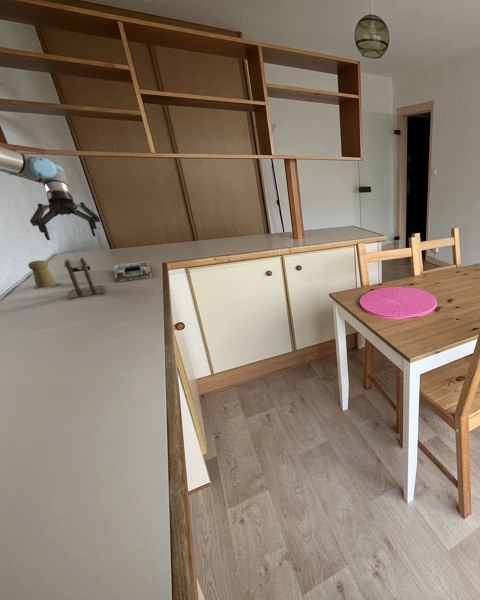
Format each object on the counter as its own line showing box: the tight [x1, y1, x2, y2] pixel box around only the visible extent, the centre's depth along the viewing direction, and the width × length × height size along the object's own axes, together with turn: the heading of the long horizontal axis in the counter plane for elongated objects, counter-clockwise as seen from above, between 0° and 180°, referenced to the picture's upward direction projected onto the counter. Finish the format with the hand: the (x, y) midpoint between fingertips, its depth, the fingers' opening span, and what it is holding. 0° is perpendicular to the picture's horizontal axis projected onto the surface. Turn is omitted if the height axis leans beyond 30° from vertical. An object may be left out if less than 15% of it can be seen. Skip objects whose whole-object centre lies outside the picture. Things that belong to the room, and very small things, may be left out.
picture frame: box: [112, 261, 152, 282], centre depth 145 cm, size 13×25×3 cm, turn 41°
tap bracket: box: [63, 257, 103, 300], centre depth 119 cm, size 12×9×14 cm
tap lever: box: [69, 259, 92, 273], centre depth 121 cm, size 13×6×2 cm, turn 43°
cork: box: [27, 260, 58, 289], centre depth 126 cm, size 6×6×11 cm
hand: (71, 236), depth 128 cm, fingers open, 13 cm apart
